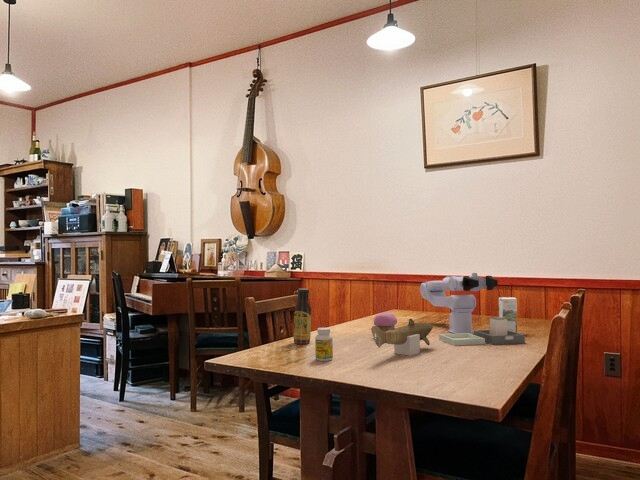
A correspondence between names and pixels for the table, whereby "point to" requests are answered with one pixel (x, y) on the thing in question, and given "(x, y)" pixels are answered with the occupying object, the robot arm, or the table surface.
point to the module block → (498, 326)
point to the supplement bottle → (324, 345)
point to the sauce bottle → (302, 318)
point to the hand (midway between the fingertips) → (487, 283)
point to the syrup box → (509, 312)
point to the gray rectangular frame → (501, 337)
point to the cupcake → (385, 321)
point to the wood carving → (404, 337)
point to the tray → (461, 339)
